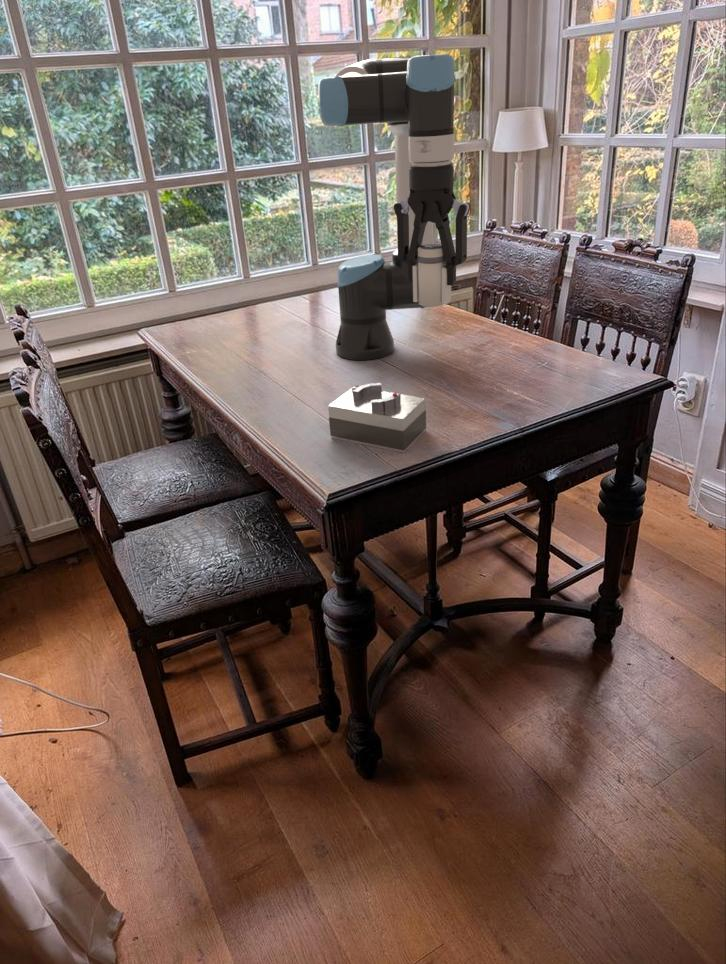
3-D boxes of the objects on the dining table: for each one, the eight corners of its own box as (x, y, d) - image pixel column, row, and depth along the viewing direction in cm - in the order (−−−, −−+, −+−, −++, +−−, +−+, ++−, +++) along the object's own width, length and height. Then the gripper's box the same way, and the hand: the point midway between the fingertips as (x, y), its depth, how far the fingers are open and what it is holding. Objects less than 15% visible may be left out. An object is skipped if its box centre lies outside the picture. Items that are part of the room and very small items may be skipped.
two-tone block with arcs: (330, 437, 135) (326, 393, 130) (355, 417, 142) (352, 374, 137) (403, 452, 128) (402, 406, 123) (426, 430, 135) (425, 386, 130)
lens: (413, 305, 125) (412, 248, 120) (424, 297, 129) (424, 242, 124) (440, 307, 123) (440, 250, 118) (450, 299, 127) (450, 243, 122)
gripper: (373, 166, 115) (379, 303, 127) (474, 165, 107) (471, 311, 119) (392, 160, 121) (396, 292, 132) (490, 160, 113) (485, 299, 125)
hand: (432, 301), depth 126 cm, fingers closed on lens, 5 cm apart
